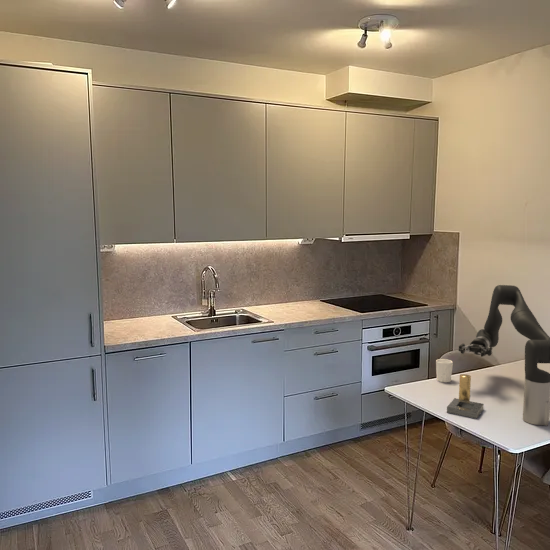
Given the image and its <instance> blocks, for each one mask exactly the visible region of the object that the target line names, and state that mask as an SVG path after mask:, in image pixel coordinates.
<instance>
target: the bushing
mask: <svg viewBox="0 0 550 550" xmlns="http://www.w3.org/2000/svg"><path fill="white" fill-rule="evenodd" d="M471 379H472V376H471V375H470V374H466V373H462V374H459V383H458V384H459V387H458V399H461V400H467V401H471V382H472V381H471Z"/></svg>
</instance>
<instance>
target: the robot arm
mask: <svg viewBox="0 0 550 550" xmlns="http://www.w3.org/2000/svg"><path fill="white" fill-rule="evenodd" d="M500 305H501V306H502V305H503V306H504V305H506V306H513V307H514V308H513V309H512V312H511V314H510V322H511V324H512V326H513V327H514V329H515V330H516V332H518V334H520V335H521V336H523V337H525V338H527V339H528V340H526V343H525V345H524V388H523V406H522V420H523V421H524V422H526V423H528V424H530V425H535V426H547V427H548V425H549V422H550V372H548V371H546V370H543V369H541V368H539V367H538V364H550V335H548V333H547V332H546V331H545V330H544V328H543V327H542V326H541V325H540V323H539V321H538V320H537V318H536V316H535V315H534V313H533V312H532V310H531V309H530V308H529V306H528V305H527V303H526V301H525V298H524V297H523V294H522V292H521V289H520V288H519V287H518V286H517V285H510V284H509V285H507V284H498V285H496V286H495V287H494V289H493V291H492V296H491V300H490V306H489V309H488V310H489V311H488V315H487V317H486V321H485V322H484V325H483V329H480V330H478V332H477V333H476V336H475V338H474V339H473V340H471V342H470V343H469V344H467V345H466V344H465V343H461V344H459V345H458V352H460V353H461V355H464V354H465V353H468V354H471V353H472V354H474V355H477V356H480V357H481V358H482V357H485V356H489V357H490V356H492V354H493V348H495V347H496V346H497V345H498V344H499V338H500V337H499V334H500V333H499V331H500V328H501V327H502V324H503V316H502V313H501V311H500V309H499V306H500Z"/></svg>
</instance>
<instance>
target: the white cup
mask: <svg viewBox="0 0 550 550" xmlns="http://www.w3.org/2000/svg"><path fill="white" fill-rule="evenodd" d="M435 372H436V381H437V382H440V383H450V382H451V381H452V373H453V361H452V360H451V359H447V358H439V359H436V360H435Z"/></svg>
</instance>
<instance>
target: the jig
mask: <svg viewBox="0 0 550 550" xmlns="http://www.w3.org/2000/svg"><path fill="white" fill-rule="evenodd" d="M484 407H485V406H484V403H481V402H476V401H472V400H470V401H467V400H461V399H459V398H453V399H452V400H451V402H450V403H449V404H448V405H447V406H446V413H448V414H452V415H456V416H461V417H465V418H471V419H476V420H477V419H478V418H479V416H480V413H481V414H482V412H483V411H484Z"/></svg>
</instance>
